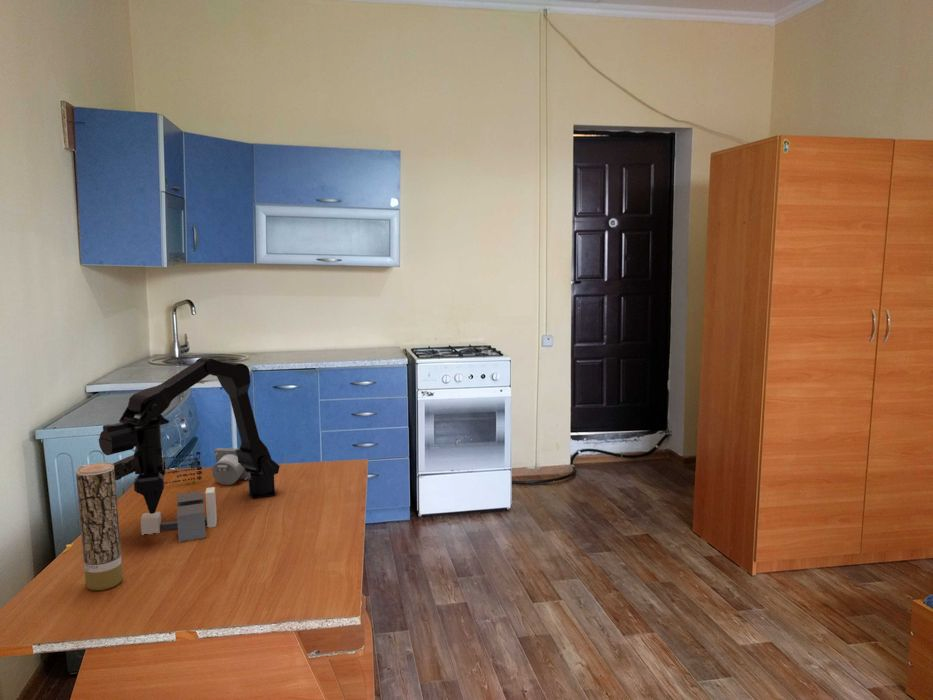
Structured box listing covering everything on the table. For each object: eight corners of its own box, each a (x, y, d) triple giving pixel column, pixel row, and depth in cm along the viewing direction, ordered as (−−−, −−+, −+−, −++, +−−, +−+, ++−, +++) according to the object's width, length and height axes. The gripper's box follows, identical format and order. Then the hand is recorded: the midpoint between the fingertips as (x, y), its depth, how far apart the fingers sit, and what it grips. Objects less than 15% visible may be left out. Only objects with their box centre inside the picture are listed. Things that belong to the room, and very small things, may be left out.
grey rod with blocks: (216, 520, 171) (214, 487, 169) (215, 526, 167) (213, 492, 165) (144, 528, 166) (141, 494, 164) (141, 535, 162) (139, 499, 160)
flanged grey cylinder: (248, 473, 208) (247, 442, 207) (255, 484, 198) (254, 452, 197) (155, 487, 196) (153, 454, 194) (157, 499, 186) (155, 465, 184)
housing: (203, 514, 175) (202, 490, 174) (205, 538, 160) (204, 512, 159) (179, 518, 172) (177, 494, 171) (178, 542, 158) (177, 516, 157)
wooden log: (107, 593, 134) (97, 474, 130) (78, 590, 135) (67, 471, 132) (130, 577, 140) (121, 463, 137) (102, 574, 142) (93, 461, 138)
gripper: (114, 438, 165) (119, 498, 167) (106, 459, 148) (112, 526, 150) (163, 433, 169) (167, 492, 172) (161, 453, 152) (166, 518, 155)
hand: (153, 506), depth 162 cm, fingers open, 9 cm apart
